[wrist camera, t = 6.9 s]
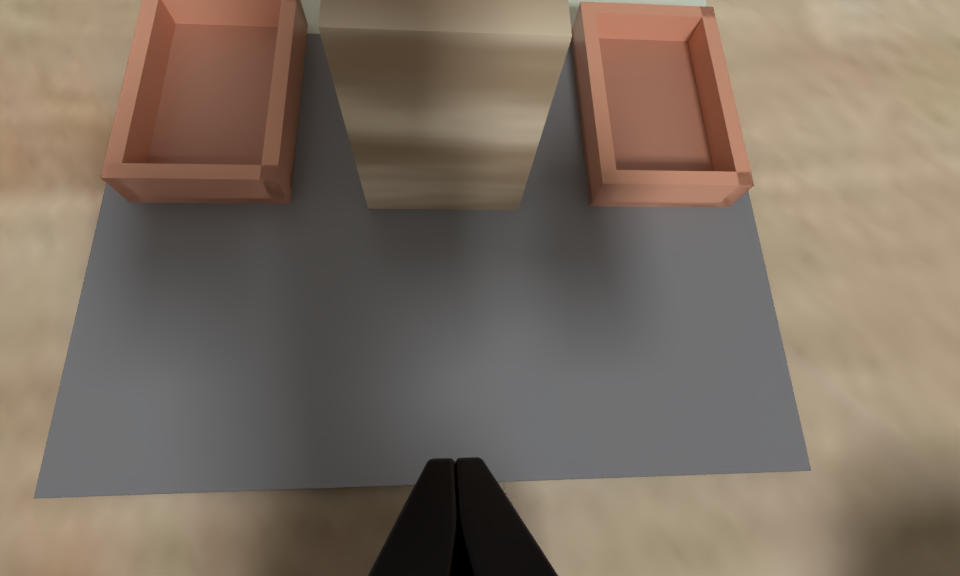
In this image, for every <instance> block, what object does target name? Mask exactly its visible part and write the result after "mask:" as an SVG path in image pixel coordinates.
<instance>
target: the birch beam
mask: <svg viewBox="0 0 960 576" xmlns="http://www.w3.org/2000/svg"><path fill="white" fill-rule="evenodd" d="M318 28H319V32H320V35H321V39H322V42H323V46H324V50H325V53H326V57H327V61H328V64H329V68H330V72H331V75H332V79H333V83H334V86H335V90H336V94H337V97H338V101H339V105H340V108H341V112H342V116H343V119H344V123H345V127H346V130H347V134H348V137H349V141H350V145H351V148H352V152H353V156H354V159H355V163H356V167H357V170H358V174H359V178H360V181H361V185H362V189H363V192H364V196H365V200H366V203H367V207H368V209H438V210H518V209H519V206H520V202H521V199H522V196H523V193H524V190H525V186H526V183H527V180H528V177H529V173H530V170H531V167H532V164H533V161H534V157H535V154H536V151H537V148H538V144H539V141H540V138H541V135H542V132H543V128H544V125H545V122H546V119H547V115H548V112H549V109H550V106H551V102H552V99H553V96H554V93H555V90H556V86H557V83H558V80H559V77H560V73H561V70H562V67H563V64H564V61H565V57H566V54H567V51H568V48H569V44H570V41H571V38H572V31H571V22H570V13H569V4H568V0H321V2H320V13H319V24H318Z"/></svg>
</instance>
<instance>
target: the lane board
mask: <svg viewBox="0 0 960 576" xmlns="http://www.w3.org/2000/svg"><path fill="white" fill-rule="evenodd" d="M580 1H581V2H605V3H630V4H654V5H678V6H703V7H707V6H706V1H705V0H568V4H569V13H570V22H571V31H572V28H573V24H574V21H575V18H576V15H577V11H578V8H579V5H580ZM320 2H321V0H301V3H302V7H303V10H304V14H305V17H306V20H307V24H308V28H307V38H306V48H305V58H304V68H303V79H302V89H301V99H300V109H299V119H298V130H297V140H296V150H295V160H294V170H293V181H292V191H291V201H290V204H261V203H138V202H128V201H127V200H126V199H125V198H124V197H123V196H121V195H120V194H119V193H118V192H117V191H116V190H114V189H113V188H112V187H111V186H110V185H109V184H107V183H106V187H105V191H104V196H103V200H102V204H101V209H100V213H99V217H98V222H97V226H96V230H95V235H94V239H93V243H92V248H91V252H90V256H89V261H88V265H87V269H86V274H85V278H84V282H83V287H82V291H81V295H80V300H79V304H78V308H77V313H76V317H75V321H74V326H73V330H72V335H71V339H70V343H69V348H68V352H67V356H66V361H65V365H64V369H63V374H62V378H61V382H60V387H59V391H58V395H57V400H56V404H55V408H54V413H53V417H52V421H51V426H50V430H49V434H48V439H47V443H46V447H45V452H44V456H43V460H42V465H41V469H40V473H39V478H38V482H37V486H36V491H35V495H34V498H59V497H87V496H115V495H143V494H171V493H200V492H228V491H256V490H284V489H312V488H340V487H368V486H396V485H415V484H416V482H417V480H418V478H419V476H420V474H421V472H422V470H423V469H424V467H425V465H426V463H427V462H428V460H430V459H433V458H452V459H454V461H456V459H458V458H464V457H479V458H481V459H482V460H483V461H484V462H485V464H486V465H487V467H488V468H489V470H490V471H491V473H492V474H493V476H494V478H495V479H496V481H497V482H508V481H536V480H564V479H592V478H620V477H648V476H677V475H705V474H733V473H761V472H789V471H811V468H810V464H809V459H808V455H807V450H806V446H805V441H804V437H803V432H802V428H801V423H800V419H799V415H798V410H797V406H796V401H795V397H794V392H793V388H792V383H791V379H790V375H789V370H788V366H787V361H786V357H785V352H784V348H783V343H782V339H781V335H780V330H779V326H778V321H777V317H776V312H775V308H774V303H773V299H772V295H771V290H770V286H769V281H768V277H767V272H766V268H765V263H764V259H763V255H762V250H761V246H760V241H759V237H758V232H757V228H756V223H755V219H754V215H753V210H752V206H751V201H750V197H749V192H748V191H747V192H746V193H745V194H744V195H743V196H741V197H740V198H739V199H738V200H737V201H736V202H735V203H734V204H732V205H731V206H730V207H635V206H590V204H589V195H588V186H587V177H586V168H585V159H584V150H583V141H582V132H581V123H580V114H579V105H578V96H577V87H576V78H575V69H574V60H573V52H572V43H571V41H570V44H569V48H568V51H567V54H566V57H565V61H564V64H563V67H562V70H561V73H560V77H559V80H558V83H557V86H556V90H555V93H554V96H553V99H552V102H551V106H550V109H549V112H548V115H547V119H546V122H545V125H544V128H543V132H542V135H541V138H540V141H539V144H538V148H537V151H536V154H535V157H534V161H533V164H532V167H531V170H530V173H529V177H528V180H527V183H526V186H525V190H524V193H523V196H522V199H521V202H520V206H519V209H518V210H438V209H368V207H367V203H366V200H365V196H364V192H363V189H362V185H361V181H360V178H359V174H358V170H357V167H356V163H355V159H354V156H353V152H352V148H351V145H350V141H349V137H348V134H347V130H346V127H345V123H344V119H343V116H342V112H341V108H340V105H339V101H338V97H337V94H336V90H335V86H334V83H333V79H332V75H331V72H330V68H329V64H328V61H327V57H326V53H325V50H324V46H323V42H322V39H321V35H320V32H319V28H318V24H319V13H320Z"/></svg>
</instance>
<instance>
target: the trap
mask: <svg viewBox="0 0 960 576" xmlns="http://www.w3.org/2000/svg"><path fill="white" fill-rule="evenodd" d="M307 28H308V24H307V20H306V17H305V14H304V10H303V7H302V3H301V0H142V4H141V8H140V12H139V17H138V21H137V25H136V29H135V34H134V38H133V42H132V46H131V51H130V55H129V59H128V63H127V68H126V72H125V76H124V80H123V84H122V89H121V93H120V97H119V101H118V106H117V110H116V114H115V118H114V123H113V127H112V131H111V135H110V140H109V144H108V148H107V152H106V157H105V161H104V165H103V169H102V174H101V179H103V180H104V181H105V182H106V183H107V184H109V185H110V186H111V187H112V188H113V189H114V190H116V191H117V192H118V193H119V194H120V195H121V196H123V197H124V198H125V199H126V200H127V201H128V202H138V203H261V204H290V201H291V191H292V181H293V170H294V160H295V150H296V140H297V130H298V119H299V109H300V99H301V89H302V79H303V68H304V58H305V48H306V38H307Z"/></svg>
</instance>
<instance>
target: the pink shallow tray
mask: <svg viewBox="0 0 960 576" xmlns="http://www.w3.org/2000/svg"><path fill="white" fill-rule="evenodd" d="M571 43H572V52H573V60H574V69H575V78H576V87H577V96H578V105H579V114H580V123H581V132H582V141H583V150H584V159H585V168H586V177H587V186H588V195H589V204H590V206H635V207H730V206H731V205H732V204H734V203H735V202H736V201H737V200H738V199H739V198H740V197H741V196H743V195H744V194H745V193H746V192H747V191H748V190H749V189H750V188H752V187H753V186H754V184H753V179H752V175H751V170H750V166H749V162H748V157H747V153H746V149H745V144H744V140H743V136H742V131H741V127H740V123H739V118H738V114H737V110H736V105H735V101H734V97H733V92H732V88H731V83H730V79H729V75H728V70H727V66H726V62H725V57H724V53H723V49H722V44H721V40H720V36H719V31H718V27H717V23H716V18H715V14H714V10H713V7H703V6H678V5H654V4H630V3H605V2H581V1H580V5H579V8H578V11H577V15H576V18H575V21H574V24H573V28H572V38H571Z"/></svg>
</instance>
